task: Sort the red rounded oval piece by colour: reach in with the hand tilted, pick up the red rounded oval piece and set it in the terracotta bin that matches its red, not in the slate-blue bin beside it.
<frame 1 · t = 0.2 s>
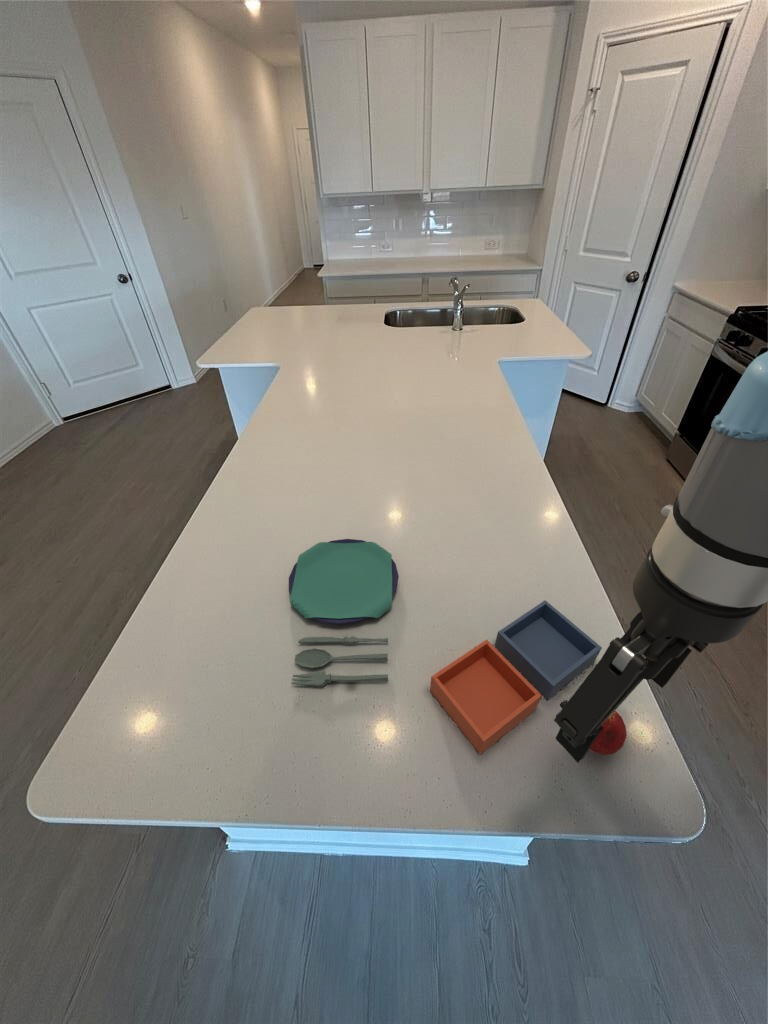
hand: (612, 710, 45), 17 cm above the counter, tool pointing down, fingers open, 13 cm apart
blue bin: (543, 653, 69), on the counter
cutlery set: (342, 607, 77), on the counter
red rounded oval piece: (591, 741, 59), on the counter
terracotta bin: (482, 699, 64), on the counter
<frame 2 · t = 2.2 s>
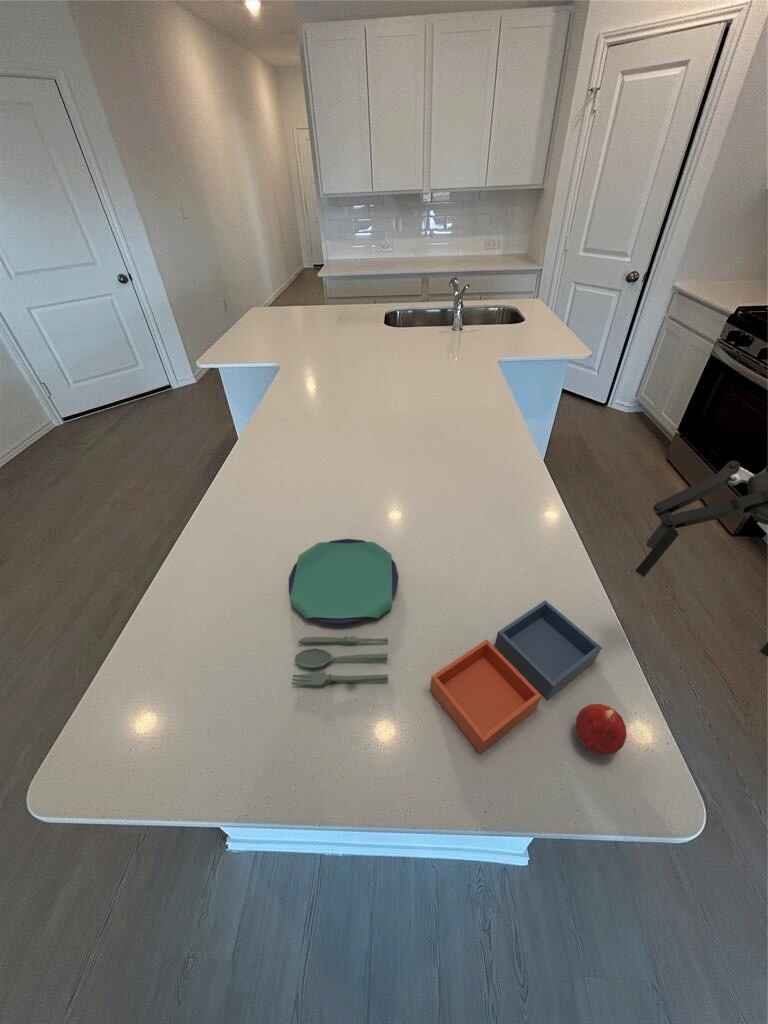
hand: (696, 611, 50), 21 cm above the counter, tool tilted 45°, fingers open, 13 cm apart
nothing on the counter moved.
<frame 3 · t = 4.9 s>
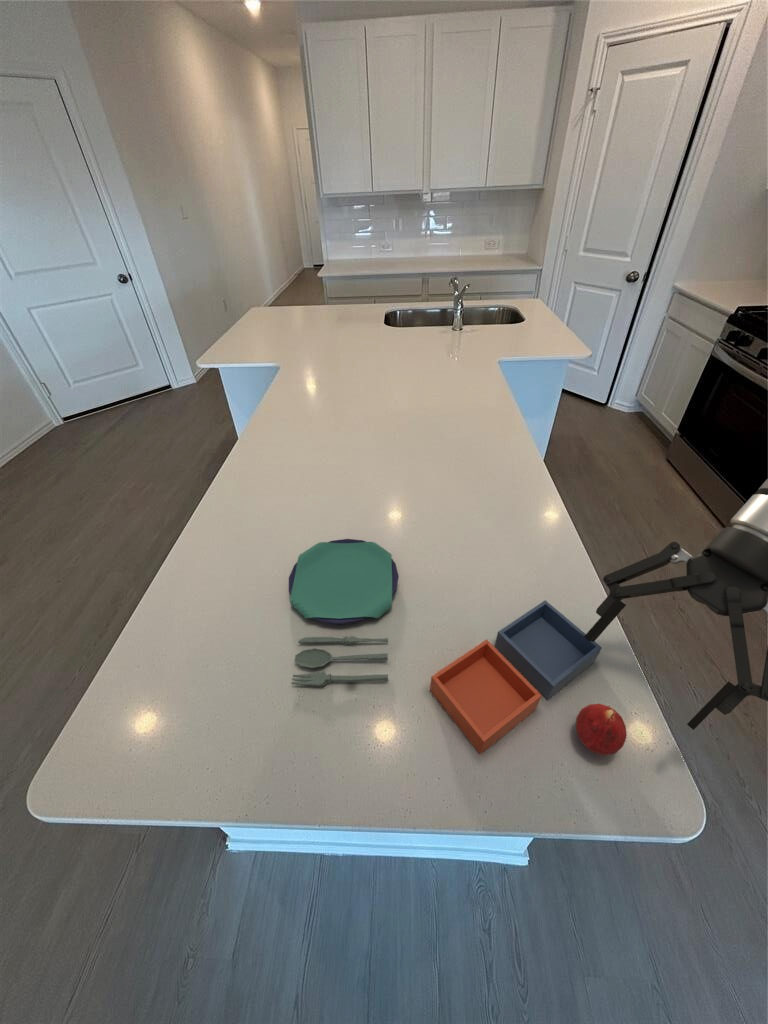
hand: (635, 679, 54), 11 cm above the counter, tool tilted 45°, fingers open, 13 cm apart
nothing on the counter moved.
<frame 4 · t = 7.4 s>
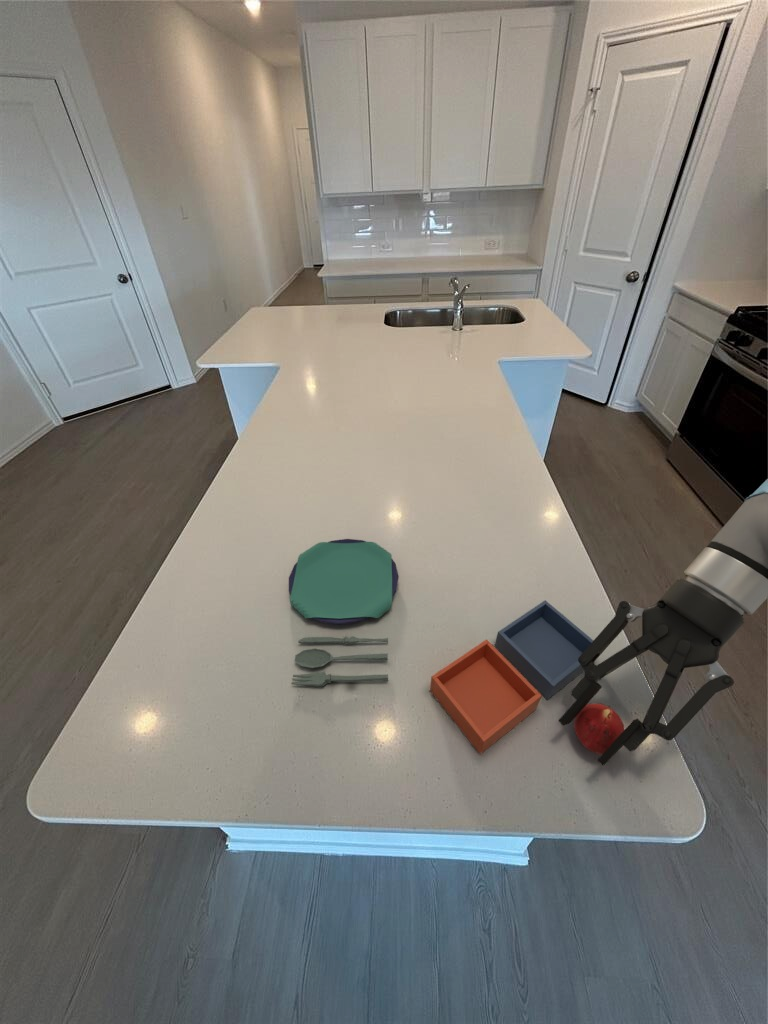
hand: (582, 740, 55), 5 cm above the counter, tool tilted 45°, fingers closed on red rounded oval piece, 5 cm apart
red rounded oval piece: (591, 741, 59), on the counter, touching gripper
everything else where it was.
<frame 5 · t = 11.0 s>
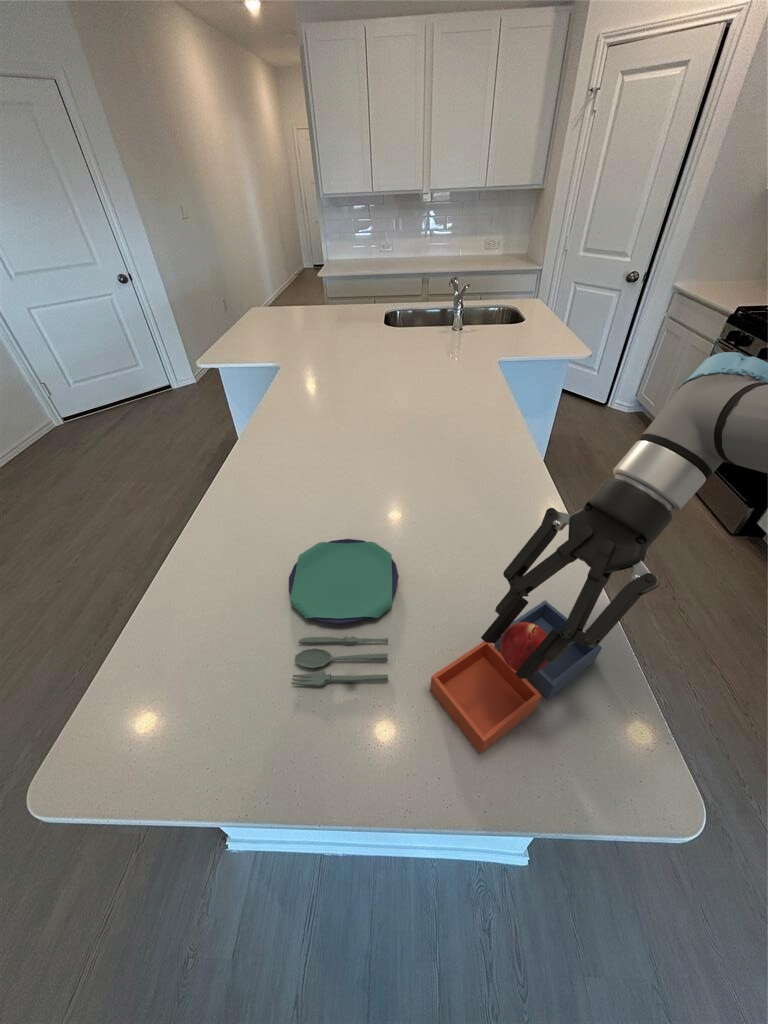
hand: (504, 657, 51), 16 cm above the counter, tool tilted 45°, fingers closed on red rounded oval piece, 5 cm apart
red rounded oval piece: (520, 664, 55), point 11 cm above the counter, touching gripper
everything else where it was.
when the fingers open (5 cm above the counter, at t = 14.7 s): red rounded oval piece stays where it is, resting on terracotta bin.
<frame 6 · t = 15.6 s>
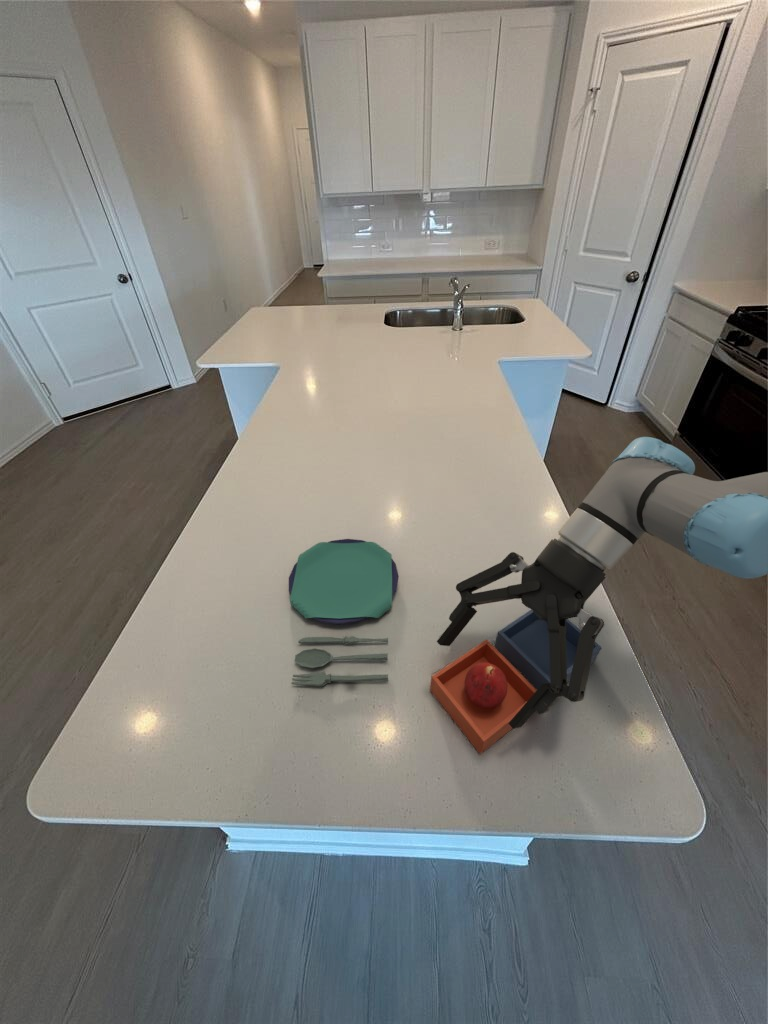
hand: (476, 681, 58), 8 cm above the counter, tool tilted 45°, fingers open, 13 cm apart
red rounded oval piece: (482, 698, 63), resting on terracotta bin
everything else where it was.
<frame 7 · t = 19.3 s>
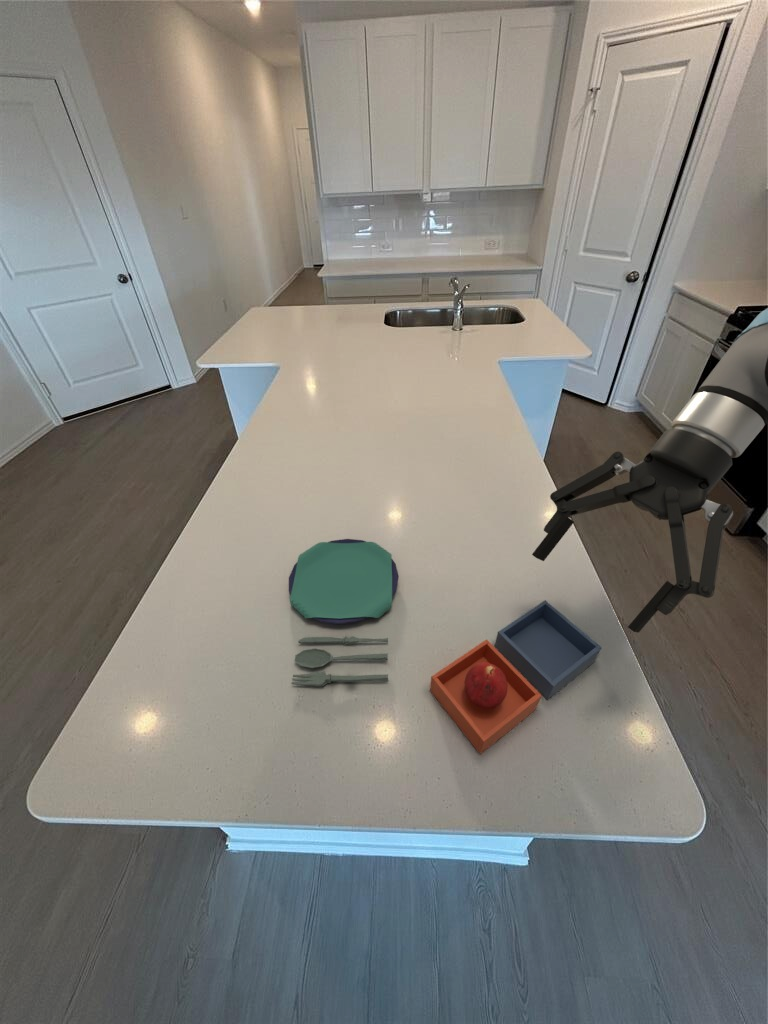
hand: (581, 591, 53), 20 cm above the counter, tool tilted 45°, fingers open, 13 cm apart
nothing on the counter moved.
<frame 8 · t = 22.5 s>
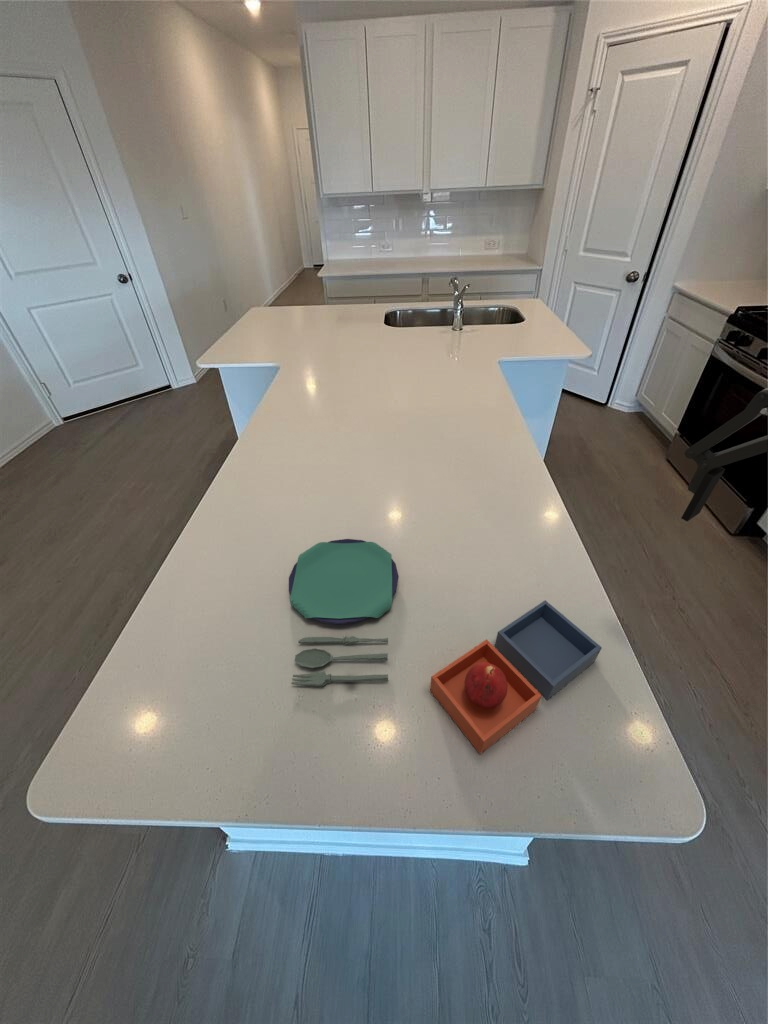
hand: (751, 549, 48), 27 cm above the counter, tool pointing down, fingers open, 13 cm apart
nothing on the counter moved.
at the end: red rounded oval piece inside the target area in the terracotta bin (0.0 cm from its centre), point 0.3 cm above the terracotta bin's base; the gripper is holding nothing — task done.
